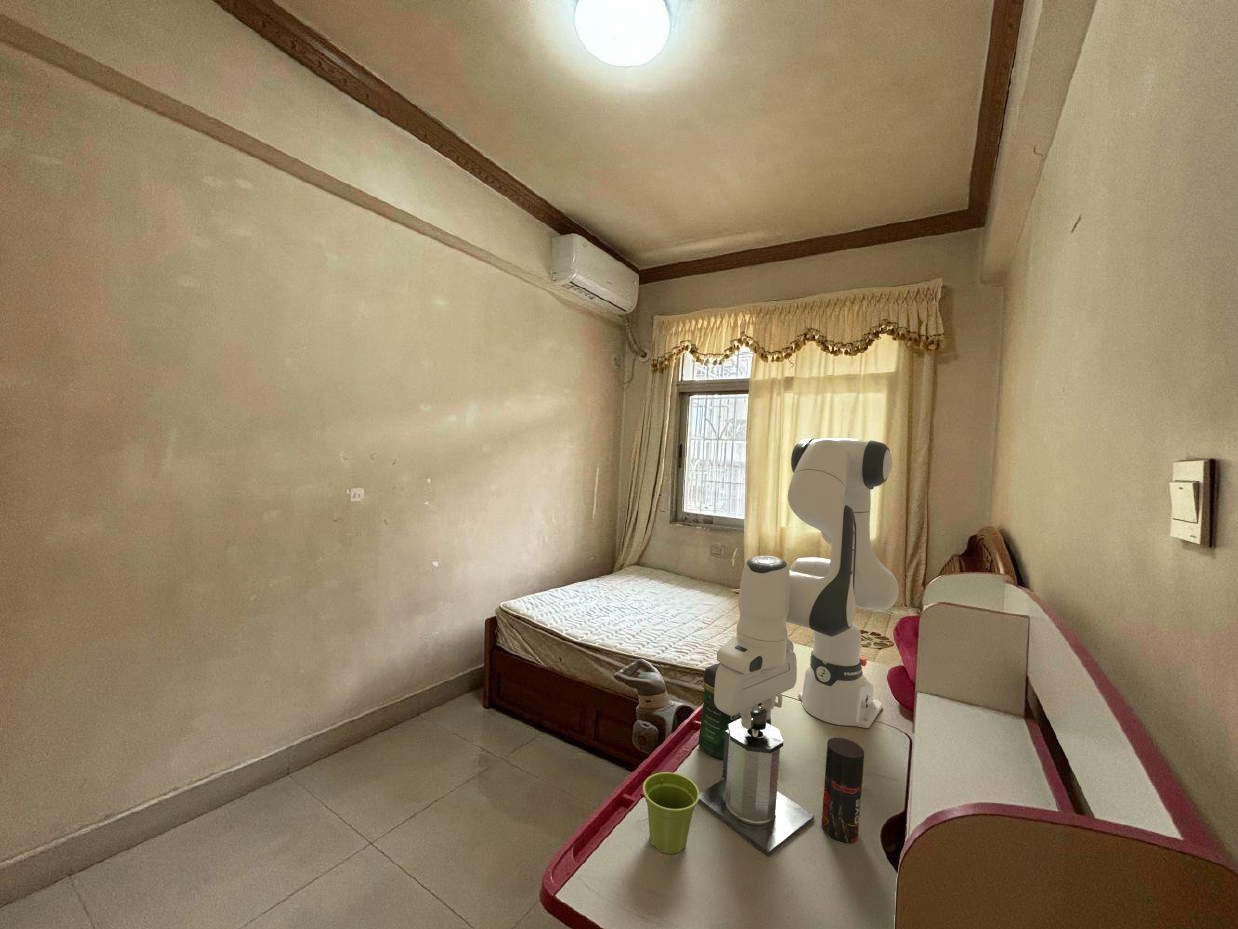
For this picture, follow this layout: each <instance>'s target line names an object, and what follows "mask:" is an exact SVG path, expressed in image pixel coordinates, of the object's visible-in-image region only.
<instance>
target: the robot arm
mask: <svg viewBox="0 0 1238 929" xmlns="http://www.w3.org/2000/svg"><path fill="white" fill-rule="evenodd" d="M790 466H791V472H792V473H793V474H792V476H791V479H790V483H789V486H788V490H787V501H788V502H787V503H788V505H789V507H790V509H791V511H792V512H793V513H794V515H795V516H797V518H798V519H799V520H801V522H803V523H804V524H806V525H808V526H809V527H813V528H814V529H816V530H818V531H820V534H821V537H822V539H823V540H824V541H825V542H826V543H827V544H828V545H829V546H830V548H831V550H830V558H823V557H817V556H813V557H811V556H810V557H808V556H807V557H799V558H797V559H795V560H794V562H792V564H791V565H790V568H789V566H788V563H787V562H786V561H785V560H784V559H782V558H780V557H777V556H772V555H757V556H754V557H751V558H749V559H747V560H746V562H745V563H744V567H743V570H742V573H741V579H740V584H739V591H738V592H739V593H738V603H737V604H738V605H737V606H738V611H739V620H738V622H737V624H736V634H734V635H733V636H732V637H731V638H730V639H729V641H727V642H726V643H725V644H724V645H722V647H720V648H719V649H718V650H717V652H716V661H717V662H718V663H721V664H720V665H719V667H718V669H717V672H716V678H715V690H714V702H715V705H716V707H717V708H718V709H719V710H720V711H722V712H724V713H726V714H727V715H729V716H734V715H736V714H738V713H740V715H741V716H742V717H741V725H742V727H744V728H746V729H750V728H752V727H754V721H755V718H753V717H751V714H750V712H751V711H752V707H753V706H755V705H757V704H760V703H762V704H761V707H760V708H762V709H764V710H765V711H766V712H767V720H768V719H770V716H771V715H772V714H771V713H772V710H773V709H772V707H773V705H774V703H775V702H776V700H777V695H779V694H783V693H785V692H788V691H790V690H791V689H793V688H795V686H796V683H797V681H798V680H797V678H798V676H797V675H798V674H797V673H798V667H797V666H798V665H797V661H798V660H797V655H796V653H795V651H794V647H795V646H794V643H793V642H792V640H791V639H789V638H788V634H789V633H788V629H787V623H790V624H792V625H793V624H794V625H796V626H800V627H803V628H808V629H810V630H811V631H813V646H812V651H811V653H810V656H809V657H810V659H809V660H810V663H809V667H808V668H806V669H805V674H804V679H803V680H804V681H803V685H802V686H803V687H802V690H801V691H799V692H798V698H799V699H800V701H801V704H802V707H803V709H804V710H805V711H806V712H807V713H808V714H810V715H811V716H813V717H815V718H816V719H819V720H820V721H824V722H827V723H829V724H833V725H838V726H847V727H849V726H851V727H857V728H858V727H859V728H863V729H868V728H870V727H871V726H872V724H873V723H874V722H875V719H876V718H877V716H878V715H879V714H880V712H881V711H882V709H883V704H882V702H881V701H880V700H878V699H877V698H876V697H874V684H873V683H872V682H871V681H870V680H869V679H868V678H867V677H866V676H865V675H864V672H863V667H866V666H867V663H868V662H867V660H868V659H867V658H865V657H862V656H861V646H862V633H861V629H860V628H859V627H858V626H857V624H856V623H855V622H854V621H855V617H856V608H858V609H862V610H867V611H868V610H869V611H875V610H876V611H878V610H879V611H884V610H885V611H887V610H890V608H892V607H893V606H894V605H895V603H896V602H897V601H898V599H899V594H900V586H899V583H898V580H897V578H896V577H895V575H894V573H892V571H890V570H889V569H888V568H886V566H884V564H883V563H882V562H881V561H880V560H879V558H878V557H877V556H876V554H875V552H874V549H873V547H872V542H871V533H870V532H871V526H870V524H871V520H870V519H871V509H872V508H871V506H872V505H871V504H872V502H871V500H872V498H871V495H872V494H871V490H873V489H875V487H880V486H881V485H883V484H884V483H886V482H887V480H888V478H889V476H890V474H891V471H892V469H893V457H892V454H891V450H890V448H889V447H888V446H887V444H886V443H884V442H880V441H876V440H869V441H867V440H864V439H863V440H862V439H855V438H849V437H848V438H845V437H841V438H818V439H817V438H816V439H815V438H806V439H802V440H800V441H799V442H798V443H797V444H795V445H794V447H793V449H792V452H791V456H790Z"/></svg>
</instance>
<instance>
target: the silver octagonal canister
mask: <svg viewBox="0 0 1238 929" xmlns="http://www.w3.org/2000/svg"><path fill="white" fill-rule="evenodd" d="M752 730H753V729H752V728H750V729H746V728H744V727H742V725H741V718H740V719H738V720H736V721H734V722H732V723H730V724H728V730H726V731H725V741H724V757H723V759H722V760H723V761H722V772H721V774H722V775H721V777H722V778H723V779H721V780H720V781H717V782H715V783H713V784H712V785H711V786H709V787H707V788H705V789H704V790H702V791H699V800H698V803H699V804H700V805H701V806H703V807H704V808H705V809H706V810H708V811H709V812H711V814H713V815H714V816H716V817H717V818H718V819H719V820H720V821H722V823H724V824H726V825H727V826H728V827H730V828H731V829H732V830H733V831H735V832H736V833H737V834H738V835H740V836H741V837H742V838H743V839H745V840H746V841H747V842H749V843H750V844H751V845H752V846H754V847H755V848H756V849H757V850H758V851H760V852H761V853H763V854H764V855H765V856H766V857H769V856H771V855H772V854H773V853H775V852H776V851H777V850H778V849H779V848H781V847H783V845H784V844H786V843H787V842H788V841H790V840H791V839H792V838H793V837H795V836H796V835H797V834H799V833H800V832H801V831H802V830H803V829H805V828H806V827H807V826H808V825H810V824H811V823H812V822H813V821H815V815H814V814H812V813H811V812H810V811H808V810H806V809H804V808H803V807H801V806H800V805H799V804H797V803H796V802H794V801H792V800H791V799H789V798H788V797H786V796H785V795H783V793H781V792H779V791H778V787H779V786H778V785H779V784H778V783H779V768H780V755H781V754H780V753H781V748H782V747H784V739H783V737H782V734H781V731H780V729H779V728H776V727H775V726H772V724H771V725H769V724H767V723H766V728H765V729H763V730H758V737H753V736H752Z"/></svg>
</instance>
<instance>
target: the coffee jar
mask: <svg viewBox="0 0 1238 929" xmlns="http://www.w3.org/2000/svg"><path fill="white" fill-rule="evenodd" d="M720 664H721V663H720V662H718V663H716V664H712V665H710V666H708V667H706V668H705V669H704V671H703V672H704V674H703V679H702V681H703V682H702V685H703V701H702V702H703V703H702V704H703V705H702V713H701V721H700V725H699V726H700V727H699V732H698V733H699V734H698V746H699V747H700V748H701V750H702V751H703V752H705V753H706V754H707V755H709V756H711V757H715V758H719V759H722V760H723V757H724V741H725V731H726V730H728V724H730V723H732V722H734V721H736V720H738V719H740V718H741V717H742V716H741V715H740V713H738V714H736V715H734V716H729V715H727V714H726V713H724V712H722V711H720V710H719V709H718V708H717V707H716V705H715V702H714V690H715V678H716V672H717V669H718V667H719V665H720Z"/></svg>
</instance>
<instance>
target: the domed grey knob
mask: <svg viewBox="0 0 1238 929" xmlns="http://www.w3.org/2000/svg"><path fill="white" fill-rule="evenodd" d="M750 714H751V717H753V718H755V721H754V727H752V729H753V730H752V736H753V737H758V730H763V729H765V728H766V720H767V712H766V711H765V710H764V709H762V708H760V707H755V706H753V707H752V711H751V712H750Z"/></svg>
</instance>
